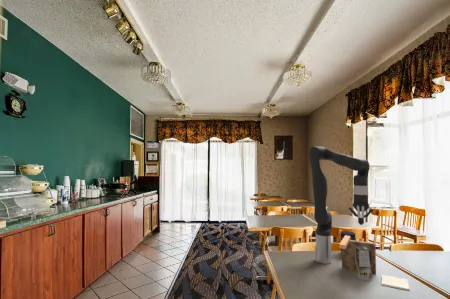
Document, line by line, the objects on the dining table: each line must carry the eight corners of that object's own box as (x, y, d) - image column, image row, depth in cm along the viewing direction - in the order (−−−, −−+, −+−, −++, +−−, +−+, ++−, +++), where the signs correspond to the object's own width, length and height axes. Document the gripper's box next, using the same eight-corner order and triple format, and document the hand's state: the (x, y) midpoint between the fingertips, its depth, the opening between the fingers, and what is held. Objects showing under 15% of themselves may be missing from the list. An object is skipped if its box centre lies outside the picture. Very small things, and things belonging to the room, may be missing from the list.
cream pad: (381, 285, 142) (381, 283, 142) (381, 276, 154) (381, 274, 154) (409, 290, 136) (409, 289, 136) (407, 280, 148) (407, 279, 148)
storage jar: (355, 253, 195) (355, 232, 196) (356, 257, 186) (355, 235, 187) (340, 251, 199) (340, 230, 200) (340, 255, 190) (340, 233, 191)
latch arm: (339, 248, 148) (339, 244, 148) (345, 238, 168) (345, 235, 168) (345, 249, 146) (345, 245, 146) (350, 239, 167) (350, 236, 167)
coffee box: (372, 281, 146) (371, 250, 147) (359, 280, 148) (358, 249, 149) (366, 274, 155) (366, 246, 156) (354, 273, 157) (354, 245, 158)
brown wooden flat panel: (342, 268, 165) (341, 239, 166) (342, 266, 167) (342, 238, 169) (375, 274, 156) (375, 244, 157) (376, 272, 158) (375, 243, 159)
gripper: (346, 193, 155) (347, 224, 153) (373, 194, 148) (374, 227, 146) (348, 192, 161) (349, 222, 160) (374, 193, 154) (374, 224, 153)
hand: (361, 224), depth 153 cm, fingers closed
